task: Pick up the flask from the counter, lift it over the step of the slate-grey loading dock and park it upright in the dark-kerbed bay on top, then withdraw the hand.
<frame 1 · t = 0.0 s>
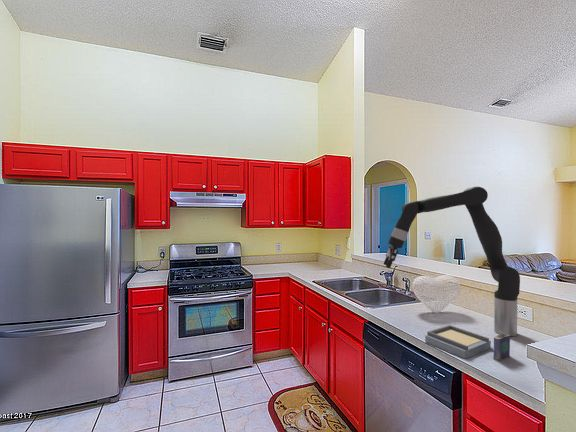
hand: (386, 266, 157), 31 cm above the worktop, tool tilted 20°, fingers open, 8 cm apart
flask: (501, 358, 122), on the worktop
dock: (457, 344, 134), on the worktop
heart: (435, 312, 178), on the worktop
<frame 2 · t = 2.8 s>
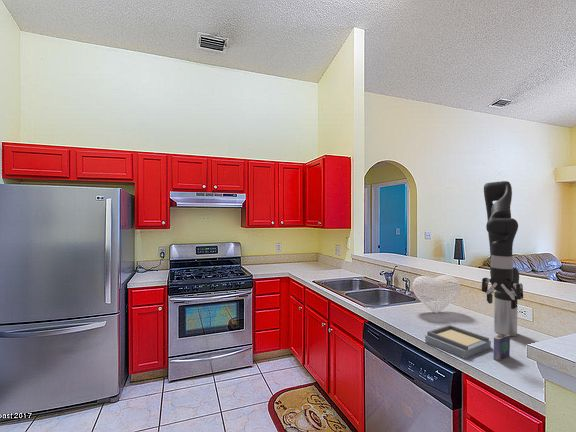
hand: (501, 305, 122), 21 cm above the worktop, tool pointing down, fingers open, 8 cm apart
nothing on the worktop moved.
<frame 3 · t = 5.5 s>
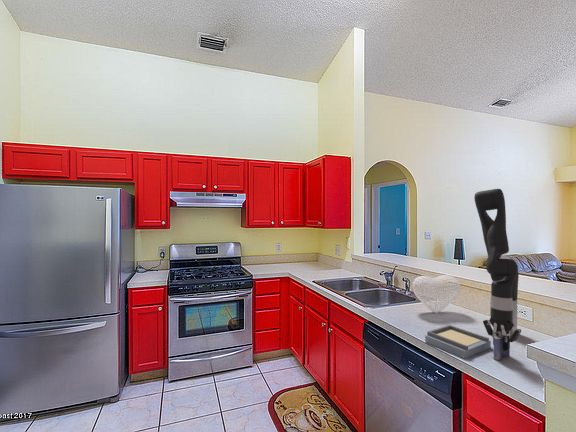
hand: (501, 348, 122), 4 cm above the worktop, tool pointing down, fingers closed on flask, 3 cm apart
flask: (501, 358, 122), on the worktop, touching gripper
everything else where it was.
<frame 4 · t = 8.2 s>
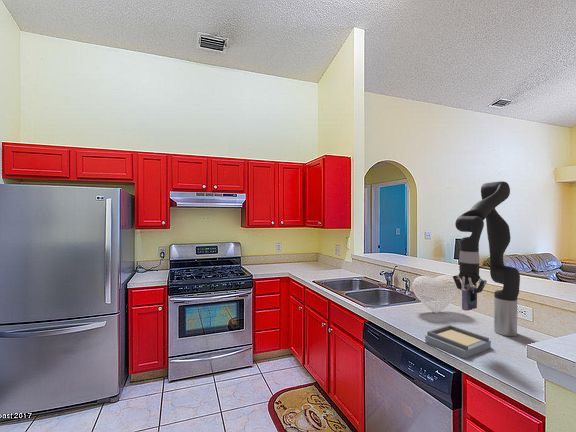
hand: (469, 300, 130), 21 cm above the worktop, tool pointing down, fingers closed on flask, 3 cm apart
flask: (469, 309, 130), point 17 cm above the worktop, touching gripper
everything else where it was.
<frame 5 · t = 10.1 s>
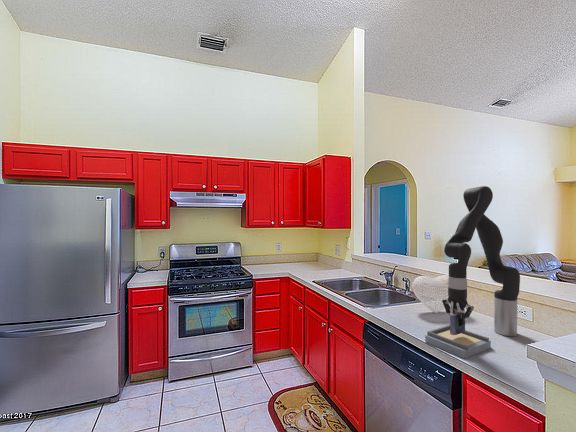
hand: (457, 324, 134), 9 cm above the worktop, tool pointing down, fingers closed on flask, 3 cm apart
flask: (457, 333, 134), point 5 cm above the worktop, touching gripper
everything else where it was.
when the fingers open (6 cm above the worktop, at t = 11.0 s): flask stays where it is, resting on dock.
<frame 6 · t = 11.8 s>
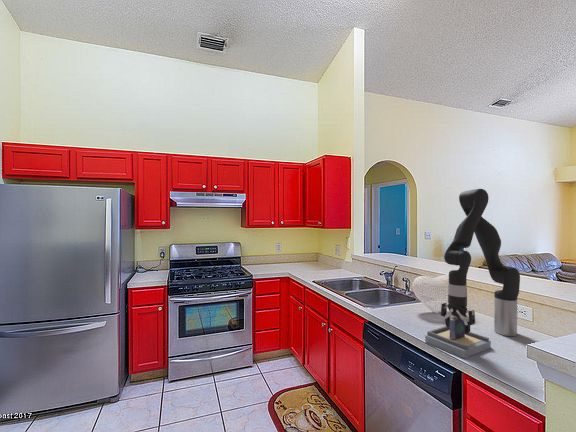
hand: (457, 329, 134), 7 cm above the worktop, tool pointing down, fingers open, 8 cm apart
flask: (457, 338, 134), point 3 cm above the worktop, touching dock
everything else where it was.
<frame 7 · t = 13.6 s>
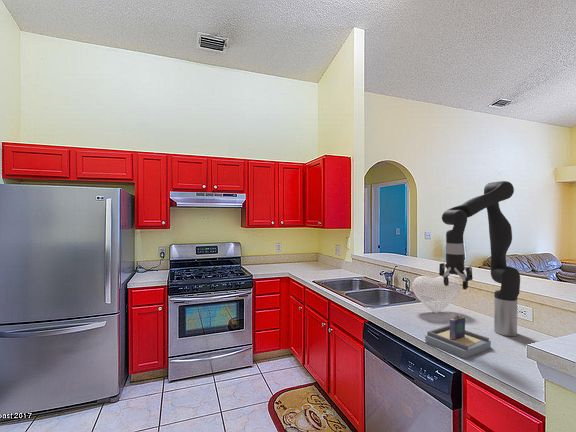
hand: (455, 287, 138), 25 cm above the worktop, tool pointing down, fingers open, 8 cm apart
nothing on the worktop moved.
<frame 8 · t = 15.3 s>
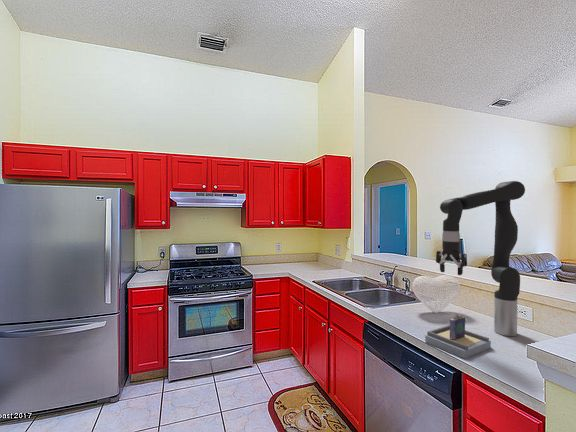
hand: (450, 273, 145), 30 cm above the worktop, tool pointing down, fingers open, 8 cm apart
nothing on the worktop moved.
at the end: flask inside the target area on the dock (0.5 cm from its centre), point 3.0 cm above the dock's base; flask tilted 0°; the gripper is holding nothing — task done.
